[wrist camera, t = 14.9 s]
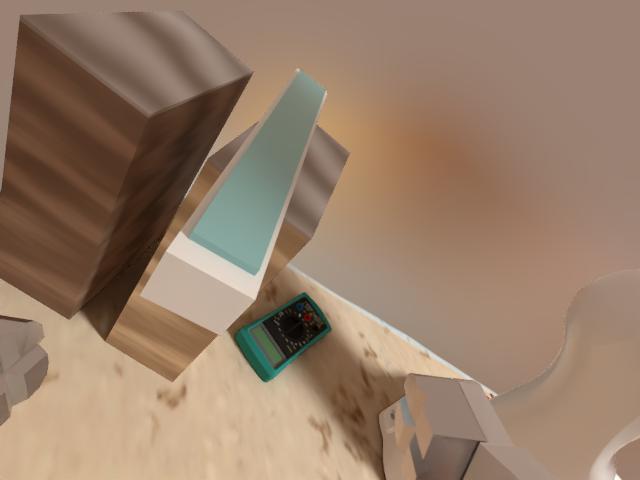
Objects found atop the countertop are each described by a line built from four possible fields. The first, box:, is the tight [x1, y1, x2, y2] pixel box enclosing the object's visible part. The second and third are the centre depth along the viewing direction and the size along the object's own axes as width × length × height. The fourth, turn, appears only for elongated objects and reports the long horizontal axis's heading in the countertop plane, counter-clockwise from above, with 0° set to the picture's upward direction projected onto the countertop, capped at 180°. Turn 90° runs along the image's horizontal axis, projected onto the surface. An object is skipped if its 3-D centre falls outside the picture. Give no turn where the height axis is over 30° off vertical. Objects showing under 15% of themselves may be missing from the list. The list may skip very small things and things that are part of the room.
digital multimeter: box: [235, 293, 331, 382], centre depth 49 cm, size 7×15×3 cm, turn 138°
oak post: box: [105, 121, 350, 382], centre depth 35 cm, size 16×8×26 cm, turn 165°
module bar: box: [140, 68, 327, 336], centre depth 23 cm, size 26×4×3 cm, turn 173°
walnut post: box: [0, 11, 254, 319], centre depth 33 cm, size 16×8×26 cm, turn 165°
